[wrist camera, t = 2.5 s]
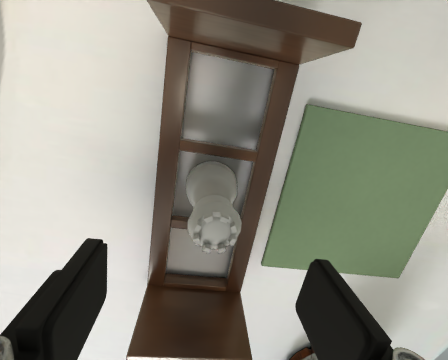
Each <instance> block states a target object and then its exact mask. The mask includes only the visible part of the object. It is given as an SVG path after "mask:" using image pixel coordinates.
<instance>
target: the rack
mask: <svg viewBox="0 0 448 360" xmlns="http://www.w3.org/2000/svg"><path fill="white" fill-rule="evenodd" d="M147 2H148V3H149V5H150V7H151V8H152V10H153V12H154V13H155V15H156V16H157V18H158V20H159V21H160V23H161V24H162V26H163V28H164V29H165V31H166V33H167V34H168V36H169V37H168V43H167V55H166V67H165V79H164V91H163V103H162V115H161V127H160V139H159V151H158V163H157V175H156V187H155V199H154V211H153V223H152V235H151V247H150V259H149V271H148V283H147V288H146V292H145V295H144V298H143V302H142V305H141V309H140V312H139V315H138V319H137V322H136V325H135V329H134V332H133V336H132V339H131V342H130V346H129V349H128V352H127V357H126V360H252V355H251V349H250V344H249V338H248V333H247V327H246V322H245V316H244V311H243V305H242V300H241V294H240V291H241V288H242V284H243V280H244V276H245V272H246V268H247V265H248V261H249V257H250V253H251V249H252V245H253V242H254V238H255V234H256V230H257V226H258V222H259V219H260V215H261V211H262V207H263V203H264V199H265V196H266V192H267V188H268V184H269V180H270V176H271V173H272V169H273V165H274V161H275V157H276V153H277V149H278V146H279V142H280V138H281V134H282V130H283V126H284V123H285V119H286V115H287V111H288V107H289V103H290V100H291V96H292V92H293V88H294V84H295V80H296V77H297V73H298V69H299V64H303V63H306V62H309V61H312V60H316V59H319V58H322V57H325V56H329V55H332V54H335V53H339V52H342V51H345V50H348V49H352V48H354V46H355V43H356V40H357V37H358V34H359V31H360V28H361V25H362V23H361V22H357V21H353V20H349V19H345V18H342V17H338V16H334V15H330V14H326V13H322V12H318V11H314V10H310V9H306V8H302V7H298V6H295V5H291V4H287V3H283V2H279V1H275V0H147ZM191 51H192V52H195V53H200V54H205V55H210V56H214V57H219V58H224V59H228V60H233V61H238V62H242V63H247V64H252V65H257V66H261V67H266V68H271V69H274V74H273V78H272V83H271V87H270V91H269V96H268V100H267V104H266V109H265V113H264V118H263V122H262V126H261V131H260V135H259V139H258V144H257V148H256V150H252V149H246V148H240V147H233V146H227V145H221V144H215V143H209V142H202V141H196V140H190V139H184V138H181V135H182V126H183V117H184V109H185V100H186V91H187V83H188V74H189V65H190V57H191ZM180 150H181V151H188V152H194V153H201V154H207V155H214V156H220V157H227V158H233V159H240V160H246V161H253V166H252V170H251V174H250V179H249V183H248V187H247V192H246V196H245V201H244V205H243V209H242V214H241V218H240V219H241V222H242V224H241V232H240V233H239V235H238V237H237V240H236V242H235V244H234V249H233V253H232V257H231V262H230V266H229V270H228V275H227V278H218V277H205V276H193V275H181V274H168V273H166V265H167V256H168V248H169V239H170V230H171V228H180V229H188V220H189V218H190V217H182V216H174V215H173V216H172V213H173V204H174V196H175V187H176V178H177V170H178V161H179V152H180Z"/></svg>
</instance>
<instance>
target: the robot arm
mask: <svg viewBox="0 0 448 360" xmlns="http://www.w3.org/2000/svg"><path fill="white" fill-rule="evenodd" d="M106 294H107V244H106V243H103V240H101V239H90V238H88V239H86V240H85V241H84V243H83V244H82V245H81V246H80V248H79V249H78V250H77V251H76V253H75V254H74V255H73V256H72V258H71V259H70V260H69V261H68V263H67V264H66V265H65V266H64V268H63V269H62V270H56V271H54V272H53V273H52V274H51V275H50V276H49V278H48V279H47V280H46V281H45V282H44V283H43V285H42V286H41V287H40V288H39V289H38V291H37V292H36V293H35V294H34V295H33V297H32V298H31V299H30V300H29V301H28V303H27V304H26V305H25V306H24V307H23V308H22V310H21V311H20V312H19V313H18V314H17V316H16V317H15V318H14V319H13V320H12V322H11V323H10V324H9V325H8V326H7V327H6V329H5V330H4V331H3V332H2V333H1V335H0V360H77V359H78V357H79V355H80V352H81V350H82V348H83V346H84V344H85V342H86V340H87V338H88V335H89V333H90V331H91V329H92V327H93V325H94V323H95V321H96V318H97V316H98V314H99V312H100V310H101V308H102V306H103V304H104V301H105V298H106ZM296 312H297V314H298V316H299V319H300V321H301V323H302V325H303V328H304V330H305V332H306V334H307V337H308V339H309V341H310V343H311V346H312V348H313V350H314V352H315V355H316V357H317V359H318V360H425V359H424V358H422V357H421V356H419V355H418V354H416V353H415V352H413V351H411V350H409V349H405V348H396V349H394V350H393V349H392V347H391V346H390V344H391V342H392V341H391V339H390V338H389V337H388V335H387V334H386V333H385V332H384V330H383V329H382V328H381V327H380V325H379V324H378V323H377V321H376V320H375V319H374V318H373V316H372V315H371V314H370V312H369V311H368V310H367V309H366V307H365V306H364V305H363V304H362V302H361V301H360V300H359V298H358V297H357V296H356V295H355V293H354V292H353V291H352V289H351V288H350V287H349V286H348V284H347V283H346V282H345V280H344V279H343V278H342V277H341V275H340V274H339V273H338V272H337V270H336V269H335V268H334V266H333V265H332V264H331V263H330V261H329V260H324V259H315V260H314V261H313V262H311V263H310V265H309V268H308V271H307V274H306V276H305V279H304V282H303V285H302V288H301V290H300V293H299V296H298V299H297V301H296Z"/></svg>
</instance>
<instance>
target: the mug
mask: <svg viewBox="0 0 448 360" xmlns="http://www.w3.org/2000/svg"><path fill="white" fill-rule="evenodd" d="M290 360H318V359H317V357H316V355H315V352H314V350H313V348H312V349H311V350H310V349H309V348H307V347H306V348H304V349H303V350H301V351H299V352H297V353H296V354H295V355H294V356H293V357H292V358H291V359H290Z"/></svg>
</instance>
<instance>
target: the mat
mask: <svg viewBox="0 0 448 360" xmlns="http://www.w3.org/2000/svg"><path fill="white" fill-rule="evenodd" d="M447 189H448V132H446V131H441V130H436V129H431V128H426V127H421V126H415V125H410V124H405V123H400V122H395V121H390V120H385V119H380V118H374V117H369V116H364V115H359V114H354V113H349V112H344V111H338V110H333V109H328V108H323V107H318V106H313V105H306V108H305V111H304V115H303V118H302V122H301V125H300V129H299V133H298V136H297V140H296V143H295V147H294V150H293V154H292V157H291V161H290V164H289V168H288V171H287V175H286V178H285V182H284V185H283V189H282V192H281V196H280V199H279V203H278V206H277V210H276V213H275V217H274V220H273V224H272V227H271V231H270V234H269V238H268V241H267V245H266V248H265V252H264V255H263V259H262V262H261V264H262V266H268V267H279V268H291V269H302V270H308V268H309V265H310V263H311V262H313V261H314V260H315V259H324V260H329V261H330V263H331V264H332V265H333V266H334V268H335V269H336V270H337V272H338V273H346V274H357V275H368V276H379V277H390V278H399V277H400V275H401V273H402V271H403V270H404V268H405V266H406V264H407V262H408V260H409V259H410V257H411V255H412V253H413V251H414V249H415V248H416V246H417V244H418V242H419V240H420V238H421V237H422V235H423V233H424V231H425V229H426V227H427V226H428V224H429V222H430V220H431V218H432V216H433V215H434V213H435V211H436V209H437V207H438V205H439V204H440V202H441V200H442V198H443V196H444V194H445V193H446V191H447Z"/></svg>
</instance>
